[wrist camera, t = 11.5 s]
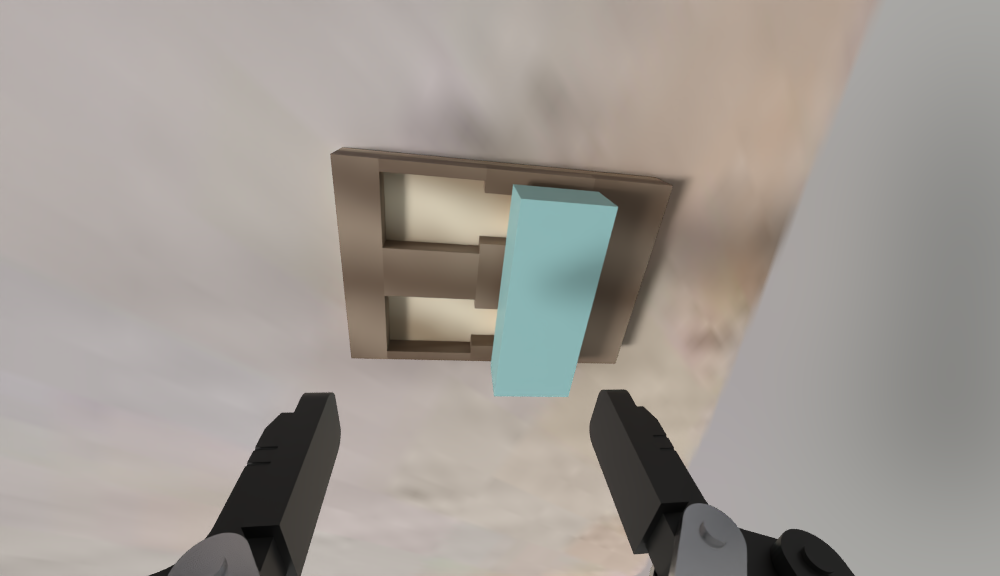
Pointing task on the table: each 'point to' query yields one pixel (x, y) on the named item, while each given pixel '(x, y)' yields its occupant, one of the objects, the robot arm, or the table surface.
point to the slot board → (467, 251)
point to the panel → (548, 287)
